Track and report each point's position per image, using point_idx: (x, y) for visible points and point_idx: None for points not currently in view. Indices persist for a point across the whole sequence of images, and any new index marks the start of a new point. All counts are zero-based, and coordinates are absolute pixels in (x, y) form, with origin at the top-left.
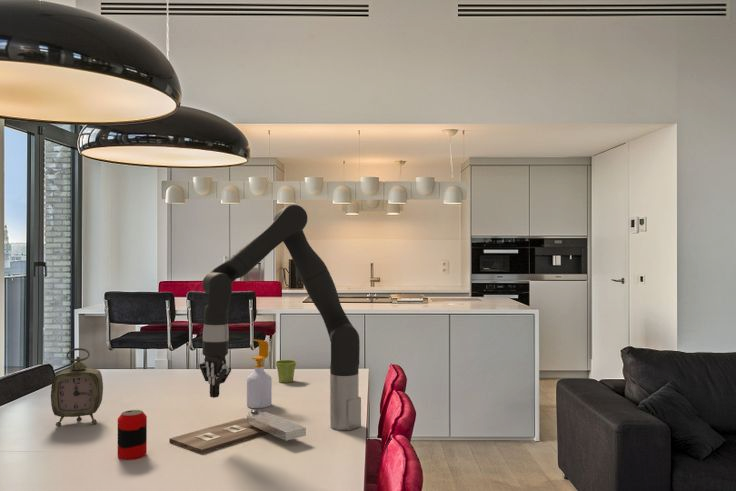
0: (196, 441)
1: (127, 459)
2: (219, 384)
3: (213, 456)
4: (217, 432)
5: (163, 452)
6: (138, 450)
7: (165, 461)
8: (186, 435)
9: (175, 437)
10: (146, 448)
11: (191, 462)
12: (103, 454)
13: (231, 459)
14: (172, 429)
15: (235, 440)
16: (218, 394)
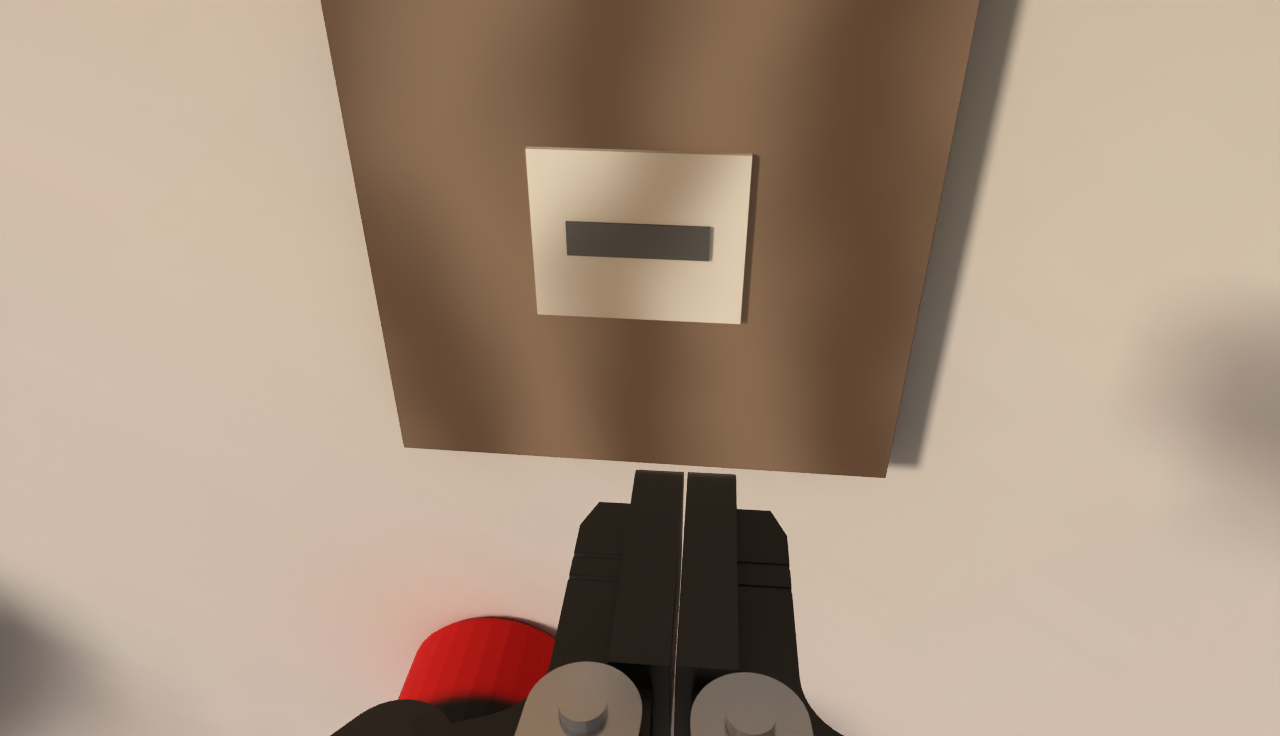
0: (662, 377)
1: None
2: (817, 724)
3: (1017, 439)
4: (576, 67)
5: None
6: None
7: None
8: (428, 324)
9: (414, 408)
10: (542, 663)
11: (953, 583)
12: None
13: (1224, 408)
14: (42, 197)
15: (957, 101)
16: (775, 535)
